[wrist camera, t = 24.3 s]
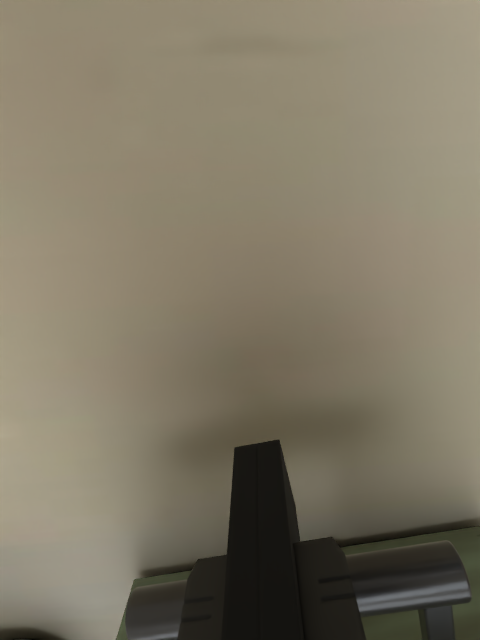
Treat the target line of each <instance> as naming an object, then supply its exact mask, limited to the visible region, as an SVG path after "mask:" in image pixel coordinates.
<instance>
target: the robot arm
mask: <svg viewBox="0 0 480 640" xmlns="http://www.w3.org/2000/svg"><path fill="white" fill-rule="evenodd" d="M177 640H366V636H365V632H364V628H363V624H362V620H361V616H360V612H359V608H358V604H357V600H356V596H355V592H354V588H353V584H352V580H351V576H350V572H349V568H348V564H347V560H346V556H345V553H344V552H343V551H342V549H341V548H340V547H339V545H338V544H337V543H336V541H335V540H334V539H333V537H329V538H322V539H316V540H309V541H303V542H300V537H299V529H298V522H297V514H296V507H295V502H294V498H293V494H292V490H291V486H290V482H289V477H288V473H287V469H286V465H285V461H284V457H283V453H282V448H281V444H280V440H273V441H268V442H262V443H257V444H251V445H246V446H240V447H235V449H234V463H233V477H232V492H231V506H230V520H229V535H228V549H227V555H222V556H216V557H209V558H203V559H198V560H197V562H196V564H195V566H194V568H193V569H192V571H191V573H190V575H189V577H188V579H187V584H186V590H185V596H184V605H183V608H182V614H181V623H180V626H179V632H178V638H177Z"/></svg>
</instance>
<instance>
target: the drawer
mask: <svg viewBox="0 0 480 640" xmlns="http://www.w3.org/2000/svg"><path fill="white" fill-rule="evenodd" d="M341 549H342V551H343V552H344V553H345V556H346V560H347V564H348V568H349V572H350V576H351V580H352V584H353V588H354V592H355V596H356V600H357V604H358V608H359V612H360V616H361V620H362V624H363V628H364V632H365V636H366V640H480V526H477V527H471V528H464V529H458V530H451V531H445V532H438V533H432V534H425V535H419V536H412V537H406V538H399V539H393V540H386V541H380V542H373V543H367V544H360V545H354V546H347V547H341ZM190 573H191V571H185V572H179V573H172V574H166V575H159V576H153V577H146V578H140V579H135V580H134V582H133V585H132V589H131V592H130V595H129V599H128V602H127V605H126V608H125V612H124V615H123V618H122V622H121V625H120V628H119V632H118V635H117V638H116V640H177V638H178V632H179V626H180V623H181V614H182V608H183V605H184V596H185V590H186V584H187V579H188V577H189V575H190Z"/></svg>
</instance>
